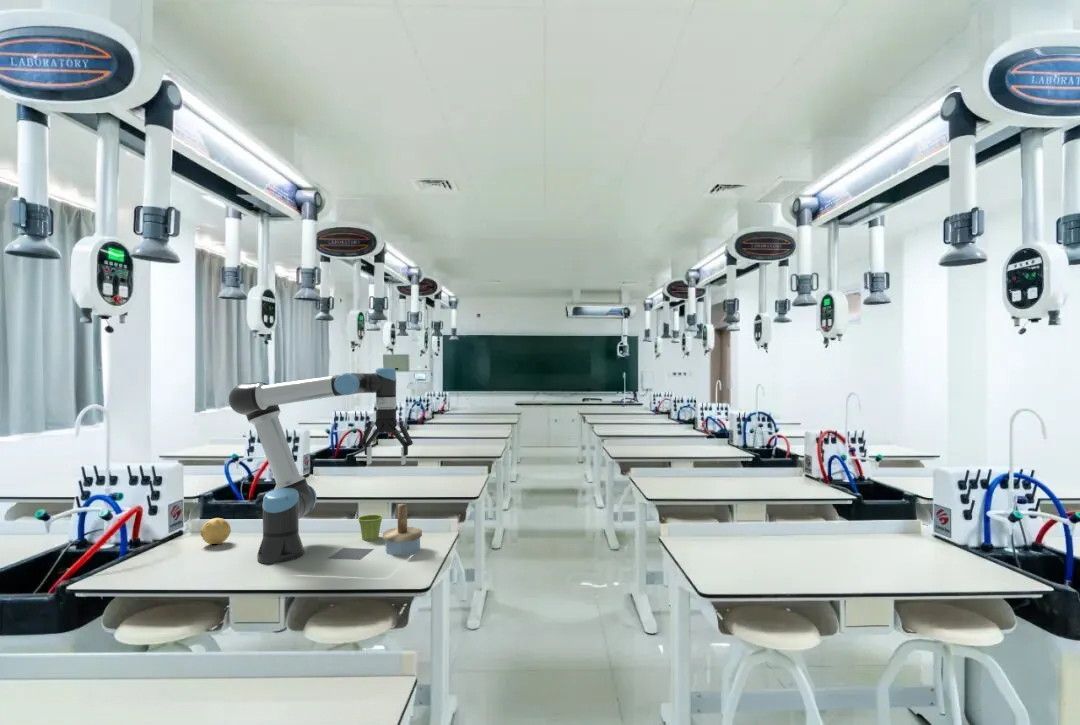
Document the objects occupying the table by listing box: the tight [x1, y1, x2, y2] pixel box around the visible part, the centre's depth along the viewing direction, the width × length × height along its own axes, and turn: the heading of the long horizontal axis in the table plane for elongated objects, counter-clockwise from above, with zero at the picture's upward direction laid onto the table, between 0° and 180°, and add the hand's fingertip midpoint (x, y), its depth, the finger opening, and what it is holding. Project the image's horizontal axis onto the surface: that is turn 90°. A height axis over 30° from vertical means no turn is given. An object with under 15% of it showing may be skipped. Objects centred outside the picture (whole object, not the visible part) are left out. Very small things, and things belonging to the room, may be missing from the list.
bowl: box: [384, 537, 421, 556], centre depth 211 cm, size 12×12×6 cm
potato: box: [200, 517, 231, 545], centre depth 221 cm, size 10×10×10 cm
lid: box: [382, 503, 423, 542], centre depth 211 cm, size 14×14×12 cm
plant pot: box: [357, 514, 383, 542], centre depth 227 cm, size 9×9×9 cm
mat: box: [327, 547, 375, 561], centre depth 207 cm, size 12×12×1 cm
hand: (386, 464), depth 220 cm, fingers open, 13 cm apart
